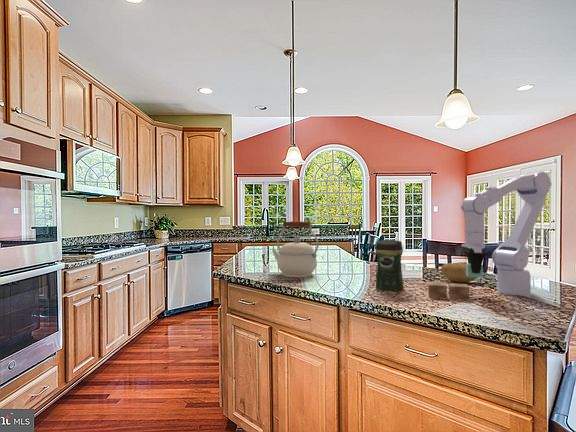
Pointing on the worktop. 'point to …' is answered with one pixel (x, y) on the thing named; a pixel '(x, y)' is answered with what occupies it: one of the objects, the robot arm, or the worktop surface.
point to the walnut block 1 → (437, 290)
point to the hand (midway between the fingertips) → (474, 271)
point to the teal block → (470, 274)
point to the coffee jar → (389, 265)
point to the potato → (456, 272)
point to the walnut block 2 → (458, 291)
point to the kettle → (296, 254)
